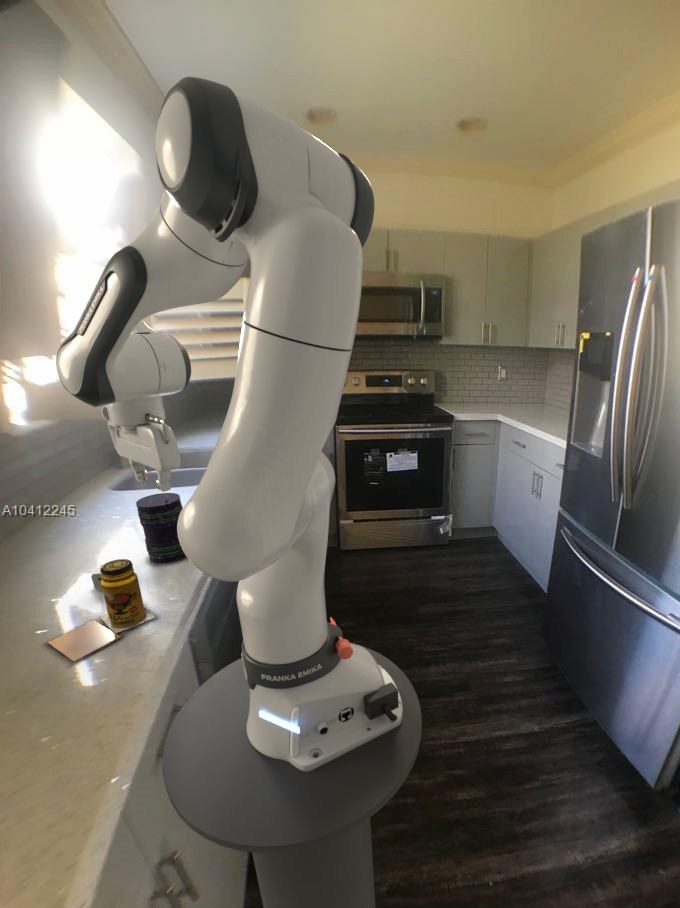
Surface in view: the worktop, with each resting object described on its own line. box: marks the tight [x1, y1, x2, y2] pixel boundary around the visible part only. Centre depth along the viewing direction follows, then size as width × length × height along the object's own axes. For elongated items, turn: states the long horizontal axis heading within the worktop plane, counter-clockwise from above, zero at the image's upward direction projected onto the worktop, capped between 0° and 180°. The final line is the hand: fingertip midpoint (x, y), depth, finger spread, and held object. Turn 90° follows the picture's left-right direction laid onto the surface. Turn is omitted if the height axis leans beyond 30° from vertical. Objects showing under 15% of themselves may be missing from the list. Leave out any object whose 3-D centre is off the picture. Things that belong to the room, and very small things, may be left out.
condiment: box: [99, 558, 156, 634], centre depth 88 cm, size 7×8×12 cm
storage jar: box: [135, 492, 187, 565], centre depth 112 cm, size 10×10×15 cm
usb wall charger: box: [90, 564, 103, 591], centre depth 103 cm, size 4×7×4 cm, turn 11°
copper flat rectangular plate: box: [47, 619, 122, 663], centre depth 83 cm, size 8×10×1 cm
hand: (153, 485), depth 87 cm, fingers open, 8 cm apart
